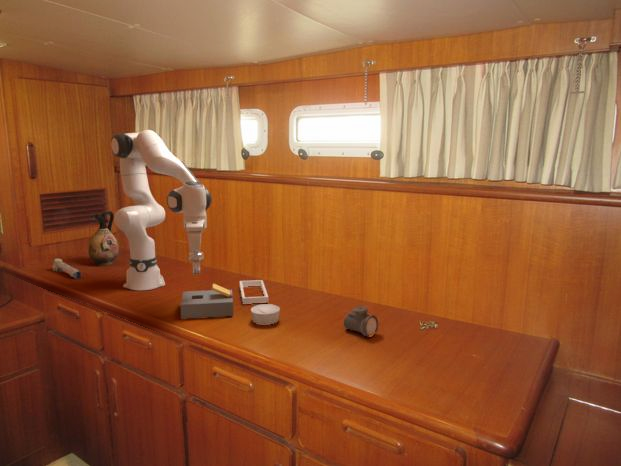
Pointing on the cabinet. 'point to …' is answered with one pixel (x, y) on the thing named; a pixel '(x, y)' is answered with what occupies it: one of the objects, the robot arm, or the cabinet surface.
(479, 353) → the cabinet surface
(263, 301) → the rectangular frame
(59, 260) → the beige knobbed rod
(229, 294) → the yellow rectangular slab
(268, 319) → the ramekin
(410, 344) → the cabinet surface
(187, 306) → the hitch block
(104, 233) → the ceramic jug
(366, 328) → the pipe fitting
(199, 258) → the steel peg
